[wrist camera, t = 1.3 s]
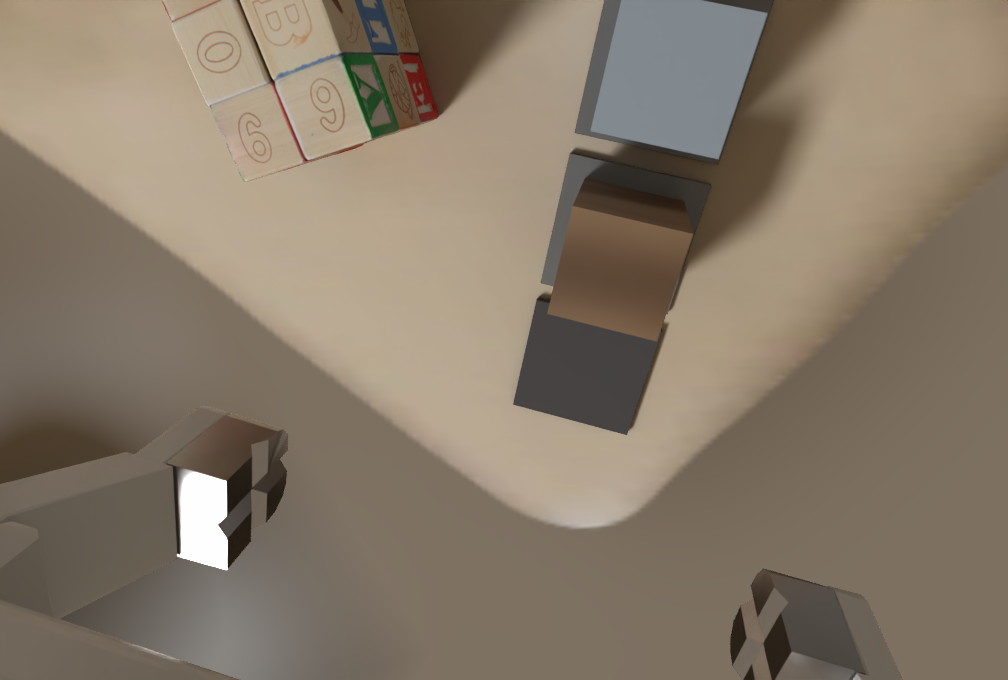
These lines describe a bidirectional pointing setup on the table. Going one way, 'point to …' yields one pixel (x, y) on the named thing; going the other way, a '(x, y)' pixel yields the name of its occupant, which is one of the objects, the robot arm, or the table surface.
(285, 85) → the stack of blocks
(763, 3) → the code tile
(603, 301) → the walnut block
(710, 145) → the slate-blue block
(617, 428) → the rubber mat
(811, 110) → the table surface
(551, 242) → the code tile
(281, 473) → the robot arm
